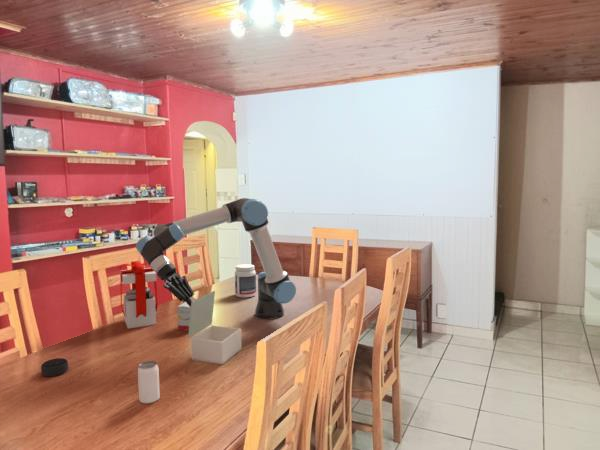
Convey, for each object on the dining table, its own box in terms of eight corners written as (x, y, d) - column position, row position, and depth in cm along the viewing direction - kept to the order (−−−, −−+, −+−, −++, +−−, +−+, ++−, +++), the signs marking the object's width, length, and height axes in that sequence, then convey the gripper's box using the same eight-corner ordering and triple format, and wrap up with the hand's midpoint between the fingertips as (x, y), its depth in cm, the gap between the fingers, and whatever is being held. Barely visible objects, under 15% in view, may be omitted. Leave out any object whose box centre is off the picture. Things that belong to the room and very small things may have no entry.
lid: (189, 337, 178) (188, 337, 178) (211, 324, 193) (210, 323, 193) (193, 302, 175) (191, 301, 175) (214, 291, 191) (213, 291, 191)
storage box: (191, 359, 179) (191, 338, 178) (212, 345, 194) (211, 325, 193) (222, 364, 174) (222, 342, 173) (241, 349, 189) (241, 328, 188)
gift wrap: (124, 330, 213) (120, 268, 209) (120, 320, 228) (117, 262, 224) (160, 324, 220) (158, 264, 217) (154, 315, 236) (152, 259, 232)
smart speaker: (50, 379, 162) (49, 369, 162) (36, 374, 167) (36, 363, 167) (73, 370, 170) (72, 360, 169) (60, 365, 174) (59, 355, 174)
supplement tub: (260, 294, 275) (260, 265, 273) (247, 299, 264) (246, 268, 262) (244, 291, 282) (243, 262, 280) (230, 296, 271) (230, 266, 269)
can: (142, 394, 151) (140, 360, 149) (161, 394, 151) (160, 359, 150) (136, 404, 144) (135, 369, 143) (157, 403, 145) (155, 368, 144)
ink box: (194, 331, 211) (193, 307, 209) (177, 330, 213) (176, 306, 211) (201, 325, 219) (201, 302, 218) (185, 324, 221) (184, 301, 220)
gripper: (168, 270, 196) (202, 312, 192) (148, 277, 183) (184, 321, 179) (178, 259, 193) (212, 301, 189) (158, 265, 181) (195, 309, 177)
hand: (198, 310), depth 184 cm, fingers closed
